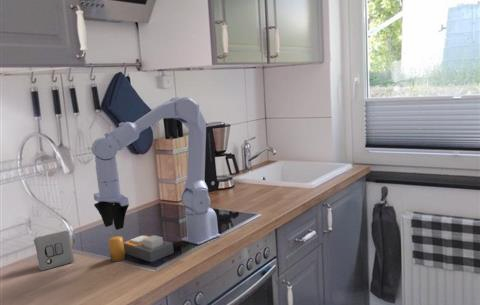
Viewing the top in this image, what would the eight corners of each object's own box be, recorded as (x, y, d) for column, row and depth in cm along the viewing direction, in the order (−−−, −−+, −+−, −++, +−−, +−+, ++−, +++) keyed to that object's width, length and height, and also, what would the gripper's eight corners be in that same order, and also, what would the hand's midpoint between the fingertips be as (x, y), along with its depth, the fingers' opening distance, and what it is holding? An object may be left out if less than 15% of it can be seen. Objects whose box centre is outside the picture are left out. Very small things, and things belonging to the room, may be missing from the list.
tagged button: (142, 245, 138) (141, 235, 138) (150, 247, 135) (149, 237, 135) (131, 249, 135) (130, 239, 135) (139, 251, 132) (138, 241, 132)
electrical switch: (40, 272, 125) (34, 239, 125) (37, 268, 130) (31, 236, 129) (75, 262, 130) (69, 231, 130) (70, 259, 135) (65, 228, 134)
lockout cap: (119, 255, 133) (116, 235, 132) (128, 257, 131) (125, 237, 130) (108, 260, 130) (105, 239, 129) (116, 262, 128) (113, 241, 127)
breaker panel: (144, 244, 141) (143, 234, 140) (173, 252, 131) (172, 242, 131) (122, 252, 135) (121, 242, 134) (151, 262, 126) (150, 251, 125)
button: (155, 244, 134) (154, 235, 133) (163, 247, 131) (162, 237, 130) (144, 249, 131) (142, 239, 130) (152, 251, 128) (151, 241, 127)
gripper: (81, 181, 129) (88, 227, 131) (110, 185, 119) (116, 235, 121) (103, 176, 134) (109, 220, 136) (132, 180, 124) (138, 227, 126)
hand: (114, 227), depth 129 cm, fingers open, 5 cm apart
